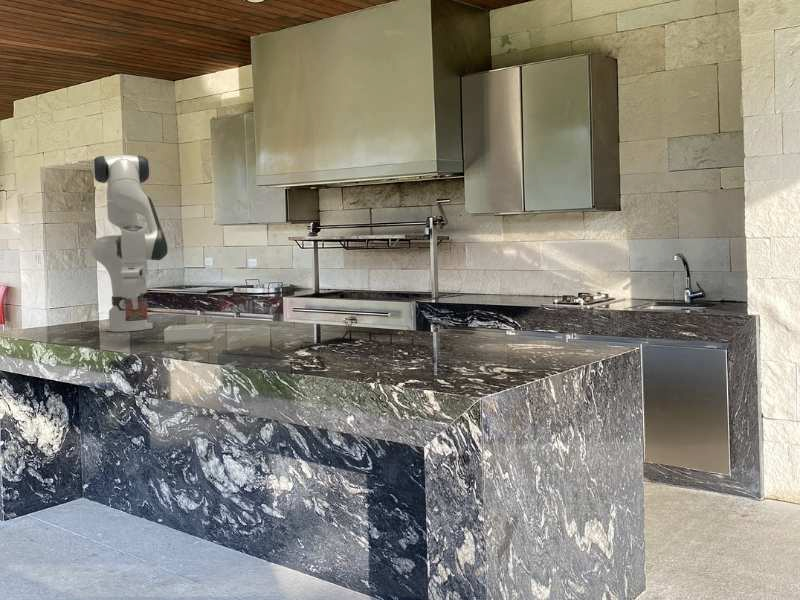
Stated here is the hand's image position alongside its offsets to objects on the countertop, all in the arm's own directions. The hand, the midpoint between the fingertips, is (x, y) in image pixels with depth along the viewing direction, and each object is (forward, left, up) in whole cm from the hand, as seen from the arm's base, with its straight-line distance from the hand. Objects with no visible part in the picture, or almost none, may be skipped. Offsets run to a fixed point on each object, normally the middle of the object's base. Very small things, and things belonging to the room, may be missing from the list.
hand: (137, 308), depth 310 cm
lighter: (+2, 0, -4) cm, 5 cm away
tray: (0, +18, -13) cm, 22 cm away
